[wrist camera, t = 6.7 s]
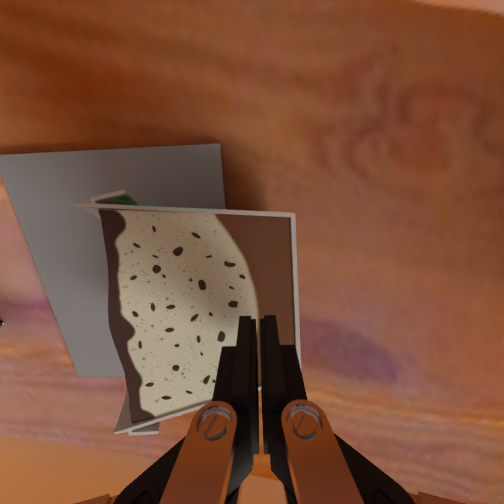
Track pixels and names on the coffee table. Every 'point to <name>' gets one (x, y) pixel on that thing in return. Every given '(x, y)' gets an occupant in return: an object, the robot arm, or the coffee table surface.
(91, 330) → the mat
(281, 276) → the food container
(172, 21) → the coffee table surface
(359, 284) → the coffee table surface
